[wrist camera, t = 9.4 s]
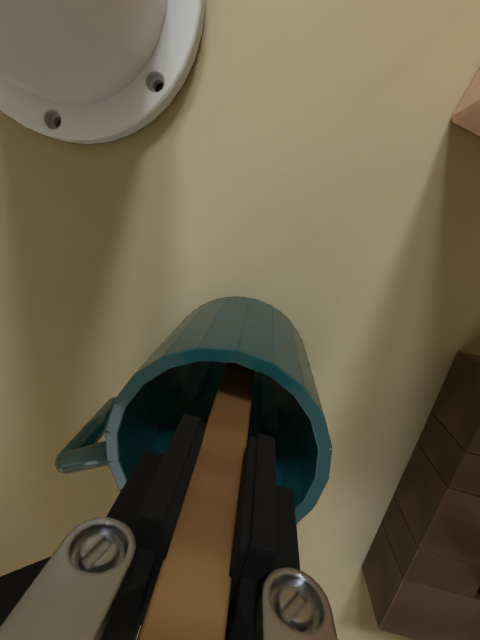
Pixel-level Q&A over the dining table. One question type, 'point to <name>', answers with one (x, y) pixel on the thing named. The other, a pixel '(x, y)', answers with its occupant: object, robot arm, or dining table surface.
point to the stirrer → (205, 525)
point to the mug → (200, 391)
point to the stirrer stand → (435, 524)
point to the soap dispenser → (469, 108)
